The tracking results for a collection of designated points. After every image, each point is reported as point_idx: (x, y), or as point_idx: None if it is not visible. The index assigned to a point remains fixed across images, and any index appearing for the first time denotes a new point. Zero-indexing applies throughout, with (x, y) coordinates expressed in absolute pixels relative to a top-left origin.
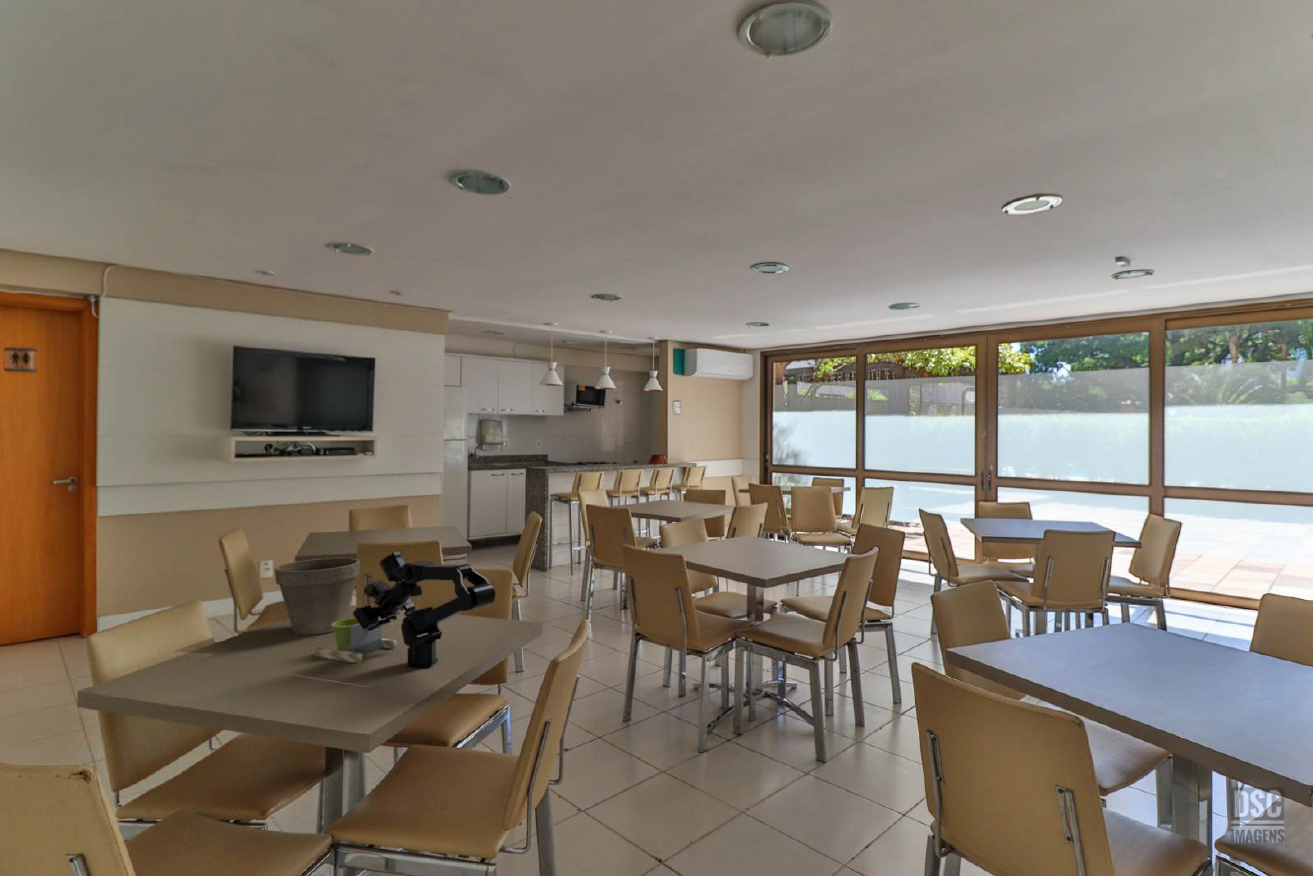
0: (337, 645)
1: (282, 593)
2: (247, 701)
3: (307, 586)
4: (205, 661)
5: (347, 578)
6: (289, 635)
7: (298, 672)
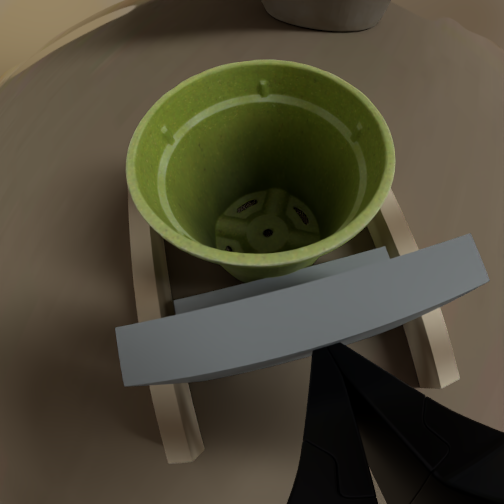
0: (202, 204)
1: None
2: None
3: None
4: (55, 71)
5: None
6: (250, 7)
7: (21, 315)
